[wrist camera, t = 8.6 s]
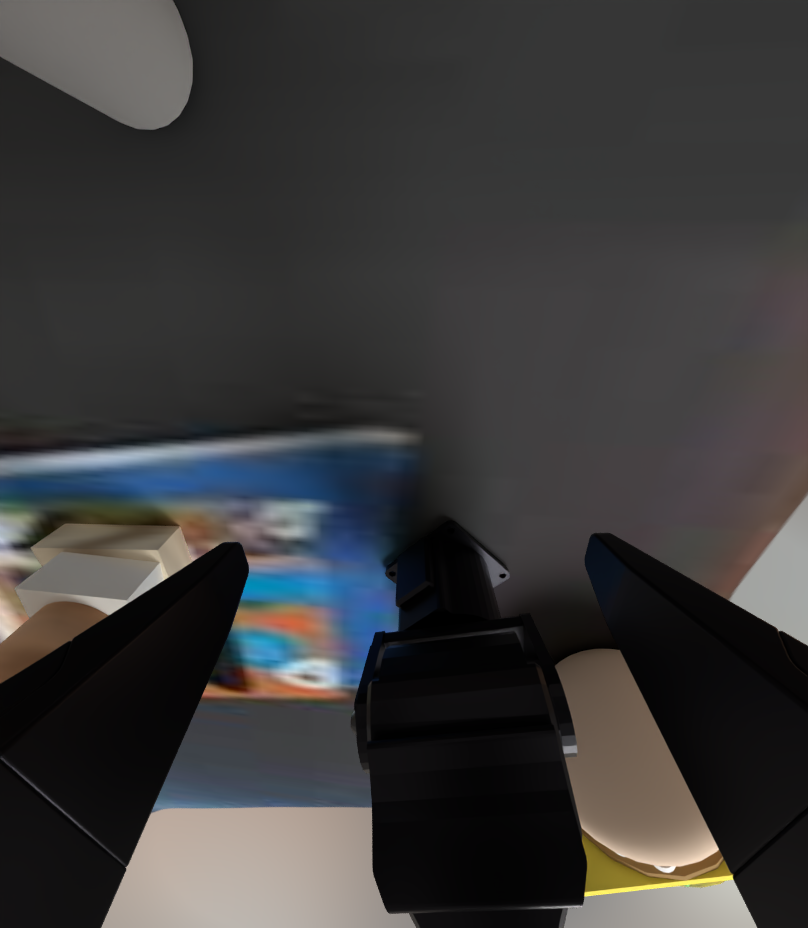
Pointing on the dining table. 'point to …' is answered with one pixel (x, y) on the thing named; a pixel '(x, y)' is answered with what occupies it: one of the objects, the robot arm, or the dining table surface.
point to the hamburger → (630, 786)
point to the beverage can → (104, 54)
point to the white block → (88, 582)
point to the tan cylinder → (45, 634)
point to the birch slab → (119, 544)
